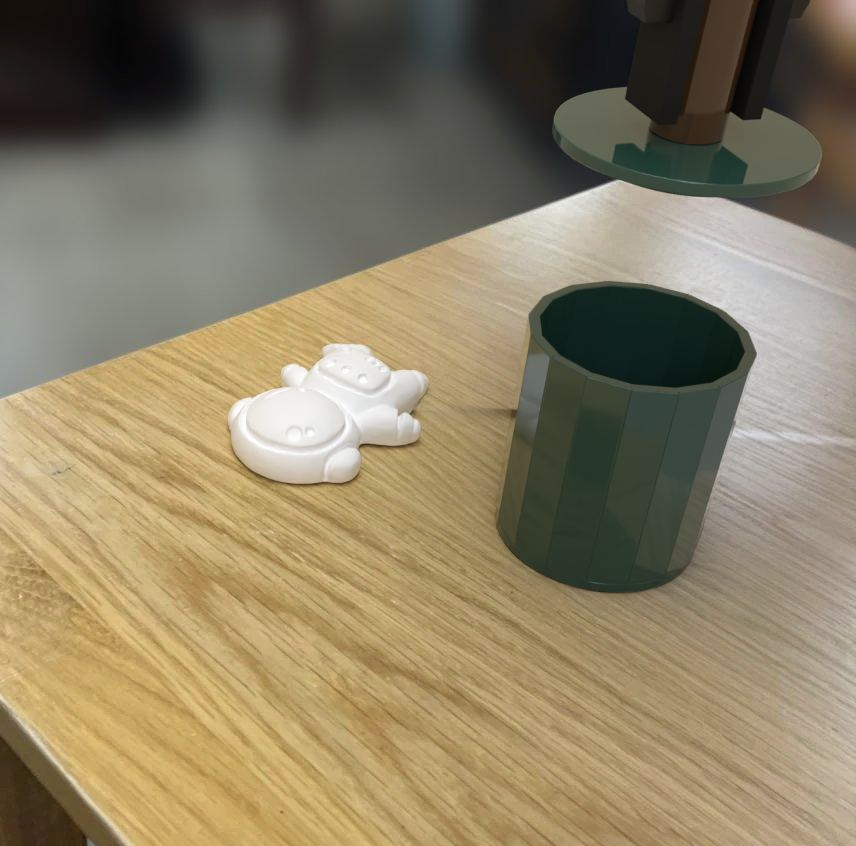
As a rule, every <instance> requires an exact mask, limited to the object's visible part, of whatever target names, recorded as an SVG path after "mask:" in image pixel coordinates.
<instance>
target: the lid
mask: <svg viewBox="0 0 856 846" xmlns="http://www.w3.org/2000/svg"><path fill="white" fill-rule="evenodd" d="M758 4H759V0H706V2H705V6H704V10H703V14H702V19H701V23H700V27H699V31H698V36H697V40H696V44H695V48H694V53H693V57H692V61H691V65H690V69H689V74H688V78H687V82H686V86H685V91H684V95H683V99H682V103H681V108H680V112H679V116H678V120H677V124H667V125H657V124H656V123H655V122H654V121H652V120H651V119H650V118H649V117H647V116H646V115H645V114H643V113H642V112H641V111H640V110H638V109H637V108H636V107H634V106H633V105H632V104H631V103H629V102H628V101H627V100H625V96H626V91H627V86H621V87H620V86H619V87H612V88H611V87H610V88H603V89H598V90H593V91H588V92H585V93H582V94H579V95H576V96H574V97H572V98H570V99H567V100H566V101H564V102H563V103H562V104H561V105H560V106H559V107H558V108H557V109H556V111H555V113H554V116H553V121H552V125H551V126H552V127H551V128H552V129H551V133H552V136H553V139H554V142H556V144H557V145H558V147H559V148H560V149H561V150H562V151H563V152H564V153H565V154H566V155H568V156H569V157H570V158H571V159H573V160H574V161H577V162H578V163H580V164H582V165H583V166H584V167H587V168H589V169H590V170H593V171H595V172H597V173H599V174H602V175H604V176H607V177H610V178H612V179H615V180H617V181H622V182H624V183H627V184H630V185H633V186H637V187H639V188H643V189H647V190H650V191H655V192H659V193H665V194H669V195H676V196H683V197H692V198H693V197H694V198H717V199H718V198H719V199H720V198H721V199H743V198H757V197H766V196H773V195H777V194H781V193H787V192H789V191H792V190H796V189H797V188H800V187H801V186H804V185H806V184H807V183H808V182H809V181H811V180H813V178H814V177H815V176H816V174H817V173H818V172H819V171H818V170H819V168H820V164H821V161H822V158H823V151H822V150H823V149H822V147H821V144H820V142H819V141H818V140H817V139H816V137H815V136H814V135H813V134H812V133H811V132H810V131H808V129H806V128H805V127H803V126H802V125H800V124H799V123H798V122H796V121H793V120H792V119H791V118H788V117H786V116H784V115H782V114H780V113H778V112H776V111H773V110H771V109H769V108H766V107H764V110H763V113H762V117H761V119H758V120H742V119H740V118H739V117H737V116H736V115H735V114H733V113H732V112H731V108H732V104H733V100H734V96H735V92H736V89H737V85H738V81H739V77H740V73H741V69H742V66H743V62H744V58H745V54H746V50H747V46H748V43H749V39H750V35H751V31H752V27H753V23H754V20H755V16H756V12H757V8H758Z"/></svg>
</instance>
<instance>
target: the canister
mask: <svg viewBox="0 0 856 846" xmlns="http://www.w3.org/2000/svg"><path fill="white" fill-rule="evenodd" d="M751 337H752V336H751V335H750V332H749V331H748V330H747V329H746V328H745V326H743V325H742V324H741V323H739V322H738V321H737V320H736V319H734V317H732V316H731V315H730V314H729V313H728V312H726V311H725V310H724V309H722V308H719V307H718V306H716V305H713V304H711V303H709V302H707V301H705V300H702V299H701V298H698V297H697V296H694V295H692V294H689V293H685V292H681V291H678V290H673V289H670V288H667V287H662V286H658V285H655V284H651V283H650V284H649V283H644V282H643V283H642V282H629V281H617V280H616V281H615V280H602V281H594V282H585V283H577V284H571V285H567V286H565V287H562V288H560V289H557V290H555V291H553V292H551V293H547V294H545V295H543V296H541V298H540V299H539V301H538V302H537V303H536V305H534V307H533V308H532V309H531V310H530V312H528V316H527V320H526V326H525V332H524V338H523V343H522V350H521V355H520V361H519V367H518V372H517V378H516V384H515V390H514V395H513V400H512V401H513V402H512V406H511V414H510V418H509V424H508V430H507V436H506V442H505V448H504V453H503V459H502V465H501V471H500V477H499V483H498V489H497V494H496V509H495V522H496V527H497V530H498V533H499V535H500V537H501V539H502V541H503V543H504V544H505V545H506V546H507V548H508V549H509V550H510V552H511V553H513V555H515V556H516V558H518V559H519V560H520V561H522V562H523V563H524V564H525V565H526V566H528V567H530V568H531V569H533V570H535V571H536V572H538V573H540V574H541V575H543V576H545V577H547V578H550V579H552V580H554V581H557V582H559V583H562V584H565V585H568V586H570V587H575V588H579V589H584V590H587V591H595V592H602V593H633V592H641V591H646V590H650V589H654V588H657V587H660V586H663V585H665V584H668V582H670V581H672V580H674V579H676V578H677V577H678V576H680V575H681V574H682V573H683V572H684V571H686V569H687V568H688V567H689V565H690V563H691V561H692V560H693V557H694V554H695V551H696V549H697V546H698V543H699V542H700V539H701V537H702V532H703V529H704V526H705V523H706V519H707V517H708V514H709V511H710V507H711V504H712V500H713V497H714V494H715V491H716V488H717V484H718V483H719V478H720V475H721V472H722V468H723V466H724V462H725V459H726V455H727V452H728V449H729V446H730V442H731V439H732V437H733V434H734V430H735V427H736V423H737V421H738V418H739V414H740V411H741V408H742V405H743V401H744V399H745V396H746V395H745V394H746V391H747V388H748V386H749V381H750V378H751V375H752V372H753V370H754V366H755V362H756V359H757V355H758V352H757V350H756V348H755V345H754V343H753V340H752V338H751Z"/></svg>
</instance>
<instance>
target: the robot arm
mask: <svg viewBox="0 0 856 846" xmlns="http://www.w3.org/2000/svg"><path fill="white" fill-rule="evenodd" d="M705 2H706V0H626V4H627V5H626V6H627V10H628V13H629V14H631V15H632V16H634V17H636V18H637V19H639V20H640V22H639V23H640V24H639V28H638V32H637V37H636V43H635V48H634V51H633V52H634V53H633V56H632V63H631V68H630V71H629V77H628V82H627V86H626V87H627V91H626V96H625V100H627V101H628V102H629V103H631V104H632V105H633V106H634V107H636V108H637V109H638V110H640V111H641V112H642V113H643V114H645V115H646V116H647V117H649V118H650V119H651V120H652V121H654V122H655V123H656V124H657V125H667V124H677V120H678V116H679V112H680V108H681V103H682V99H683V95H684V91H685V86H686V82H687V78H688V74H689V69H690V65H691V61H692V57H693V53H694V48H695V44H696V40H697V36H698V31H699V27H700V23H701V19H702V14H703V10H704V6H705ZM810 3H811V0H759V4H758V8H757V12H756V16H755V20H754V23H753V27H752V31H751V35H750V39H749V43H748V46H747V50H746V54H745V58H744V62H743V66H742V69H741V73H740V77H739V81H738V85H737V89H736V92H735V96H734V100H733V104H732V108H731V112H732V113H733V114H735V115H736V116H737V117H739V118H740V119H742V120H758V119H761V117H762V113H763V110H764V108H765V105H766V103H767V99H768V95H769V91H770V88H771V84H772V80H773V78H774V73H775V70H776V66H777V63H778V59H779V55H780V52H781V48H782V45H783V41H784V38H785V34H786V30H787V26H788V23H789V20H791V19H792V20H793V19H801V18H802V16H803V14H804V13H805V11H806V10H807V8H808V7H809V5H810Z"/></svg>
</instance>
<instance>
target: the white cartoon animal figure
mask: <svg viewBox="0 0 856 846" xmlns="http://www.w3.org/2000/svg"><path fill="white" fill-rule="evenodd" d="M321 354H322V358H320V360H318V361H317V362H316V363H315V364H313V366H312V367H311V369H309V370H307V369H306V368H305V367H304V366H300V365H299V364H297V363H290V364H286V365H285V366H283V367H282V368H281V371H280V384H281V387H277V388H273V389H269V390H267V391H264V392H261V393H259V394H257V395H255V396H254V397H244V398H241V399H240V400H237V401H236V402H235V403H234V404H233V405H232V406H231V408H230V409H229V411H228V415H227V424H228V429H229V431H230V439H231V440H230V441H231V447H232V449H233V453H234V454H235V456H236V457H237V458H238V460H239V461H240V462H241V463H242V464H244V465H245V466H246V467H247V468H248V469H249V470H251V471H252V472H254V473H256V474H257V475H259V476H262V477H265V478H267V479H269V480H273V481H275V482H280V483H288V484H296V485H299V484H302V485H305V484H318V483H333V484H342V483H346V482H349V481H351V480H354V478H355V477H356V476H357V475H358V474H359V471H360V470H361V466H362V454H361V452H360V451H359V447H360V446H361V445H364V444H370V445H378V446H390V447H399V446H405V445H409V444H413V443H415V442H416V441H418V440H419V438H420V436H421V433H422V426H421V423H420V421H419V420H418V419H416V418H414V417H413V415H412V414H411V413H412V412H413V410H414V409H415V408H417V407H418V406H419V405H420V404H421V399H422V397H424V395H426V392H427V390H428V388H429V385H430V382H429V378H428V377H427V375H425V374H424V373H423V372H421V371H419V370H416V369H410V370H409V369H405V368H404V369H398V370H391V369H390V367H389V366H388V365H387V364H386V363H384V362H383V361H382V360H380V359H378V358H377V357H375V356H374V354H373V351H372V350H371V348H369V347H368V346H366V345H364V344H362V343H361V344H360V343H357V344H355V343H348V344H347V343H338V342H337V343H335V342H334V343H330V344H327V345H325V346H323V347H322V348H321Z"/></svg>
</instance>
